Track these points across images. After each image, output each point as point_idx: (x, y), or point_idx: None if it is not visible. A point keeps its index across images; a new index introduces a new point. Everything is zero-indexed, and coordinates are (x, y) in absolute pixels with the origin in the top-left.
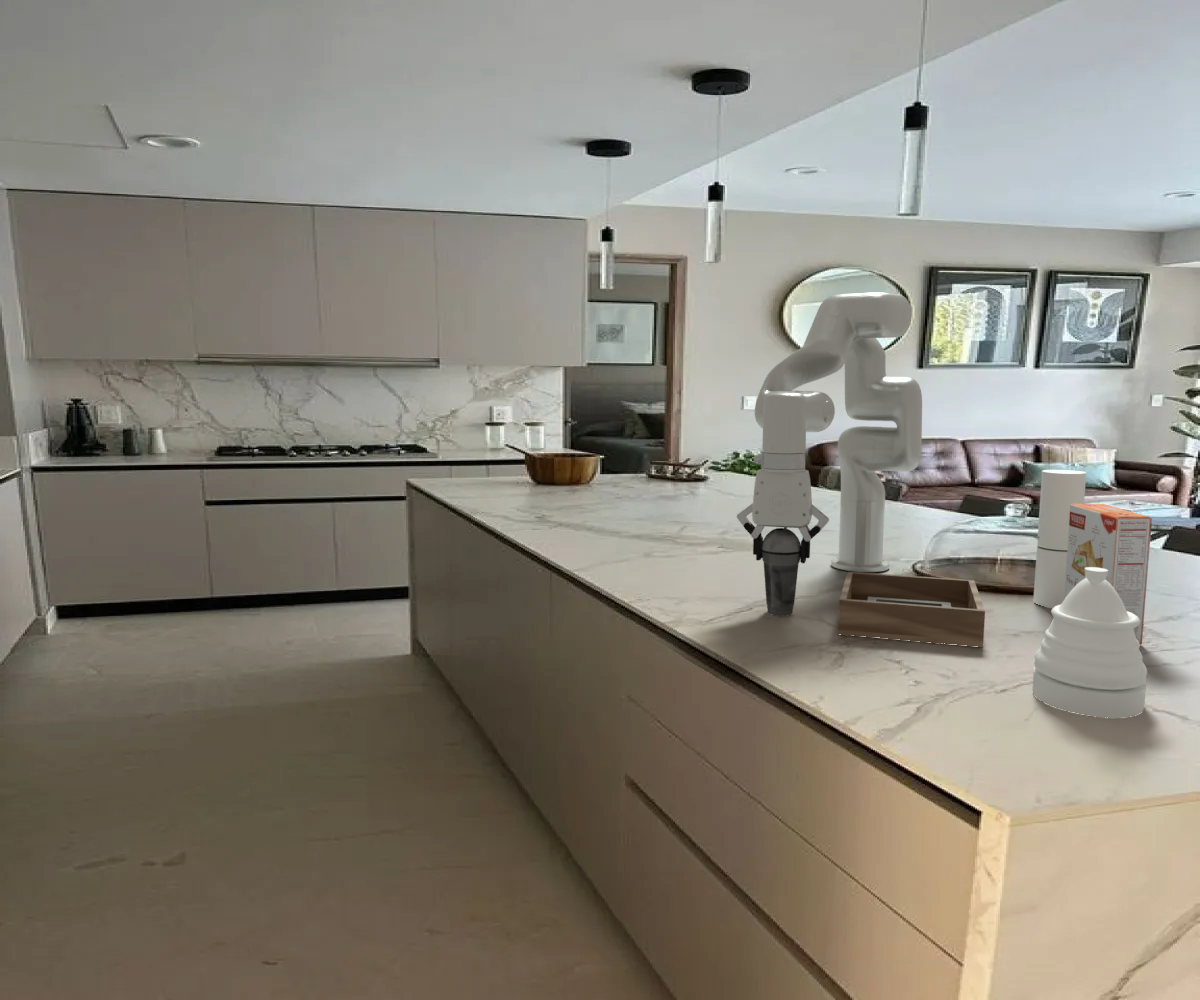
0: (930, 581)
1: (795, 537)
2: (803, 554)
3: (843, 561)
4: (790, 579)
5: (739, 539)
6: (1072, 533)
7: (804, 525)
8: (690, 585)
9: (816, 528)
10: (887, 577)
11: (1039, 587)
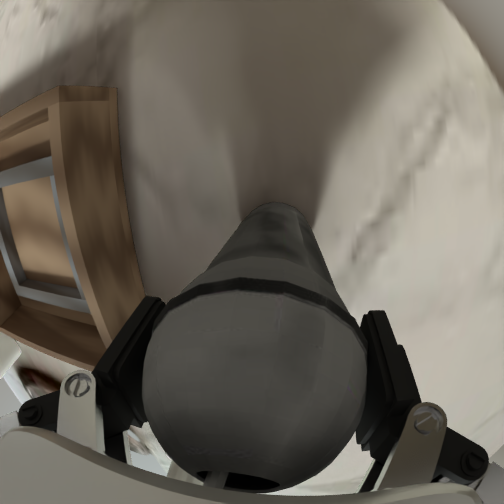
0: (27, 335)
1: (147, 414)
2: (132, 320)
3: None
4: (222, 249)
5: (340, 494)
6: None
7: (18, 428)
8: (448, 372)
9: (24, 415)
10: (69, 354)
11: (1, 347)
